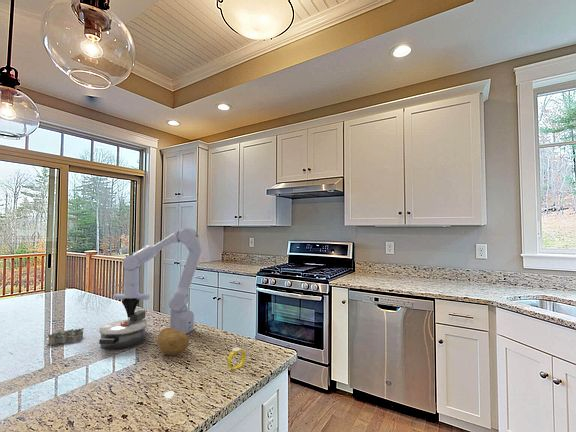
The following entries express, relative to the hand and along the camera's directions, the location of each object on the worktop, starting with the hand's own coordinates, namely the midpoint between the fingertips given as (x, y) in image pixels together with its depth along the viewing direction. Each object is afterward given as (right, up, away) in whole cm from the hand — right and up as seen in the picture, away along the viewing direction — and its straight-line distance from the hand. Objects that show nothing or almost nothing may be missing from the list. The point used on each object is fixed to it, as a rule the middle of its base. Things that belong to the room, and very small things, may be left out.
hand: (130, 316), depth 124 cm
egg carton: (-21, -7, -9) cm, 23 cm away
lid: (+3, -1, -7) cm, 8 cm away
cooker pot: (+3, -6, -9) cm, 11 cm away
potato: (+26, -6, -21) cm, 34 cm away
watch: (+50, -6, -31) cm, 59 cm away
